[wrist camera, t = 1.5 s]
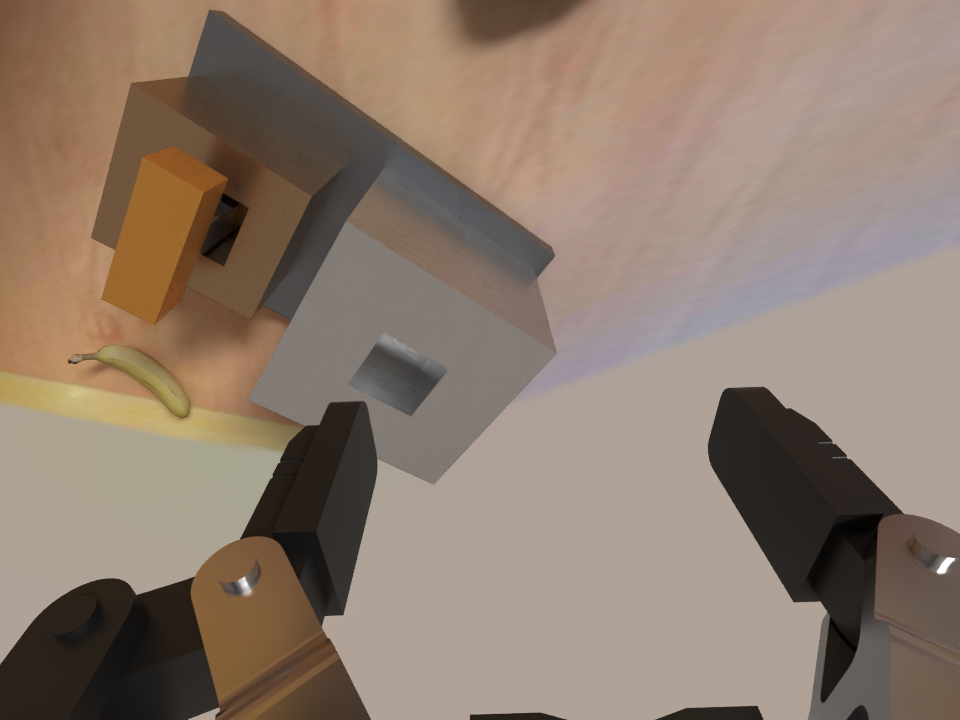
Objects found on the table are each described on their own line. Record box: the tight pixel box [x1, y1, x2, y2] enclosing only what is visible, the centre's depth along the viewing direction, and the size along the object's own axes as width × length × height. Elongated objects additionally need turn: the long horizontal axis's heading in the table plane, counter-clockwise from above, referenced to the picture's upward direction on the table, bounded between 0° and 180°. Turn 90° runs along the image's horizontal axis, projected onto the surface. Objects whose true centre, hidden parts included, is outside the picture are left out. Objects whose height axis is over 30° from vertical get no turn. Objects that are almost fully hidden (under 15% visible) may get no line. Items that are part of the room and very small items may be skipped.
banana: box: [68, 345, 190, 418], centre depth 35 cm, size 8×2×4 cm, turn 34°
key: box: [101, 146, 249, 325], centre depth 23 cm, size 7×2×8 cm, turn 145°
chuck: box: [91, 10, 557, 485], centre depth 26 cm, size 22×14×12 cm, turn 55°
